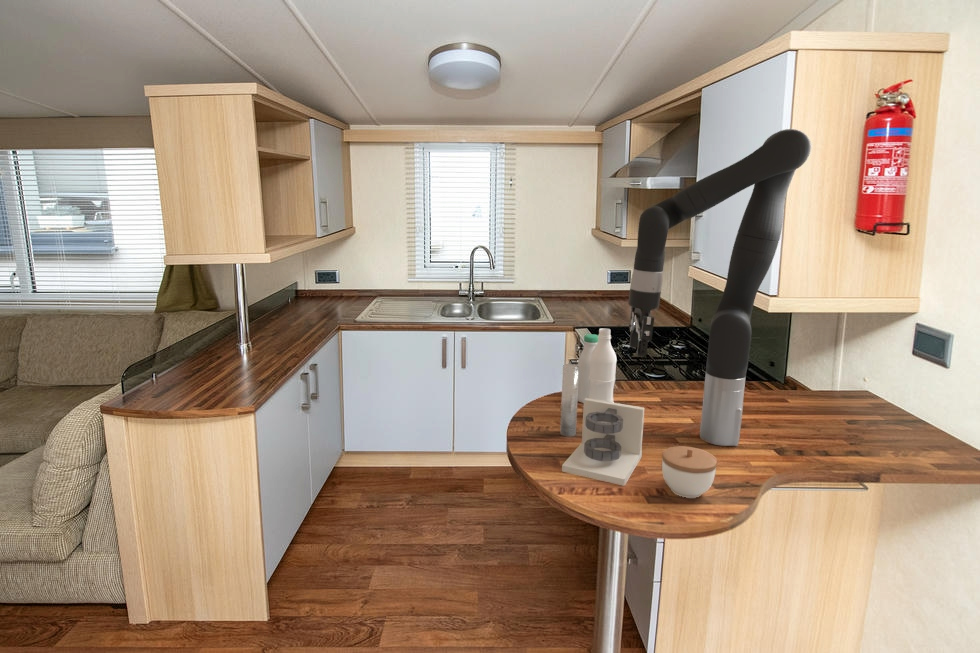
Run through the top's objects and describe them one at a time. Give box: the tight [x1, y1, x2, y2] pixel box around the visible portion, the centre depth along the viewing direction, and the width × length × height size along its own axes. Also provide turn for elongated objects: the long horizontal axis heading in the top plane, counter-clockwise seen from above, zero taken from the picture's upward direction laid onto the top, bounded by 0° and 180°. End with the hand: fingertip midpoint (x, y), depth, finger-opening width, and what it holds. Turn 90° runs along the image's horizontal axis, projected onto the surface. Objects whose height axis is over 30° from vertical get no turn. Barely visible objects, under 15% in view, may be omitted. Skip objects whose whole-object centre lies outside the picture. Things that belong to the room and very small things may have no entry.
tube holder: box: [561, 398, 645, 487], centre depth 133 cm, size 14×16×12 cm
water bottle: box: [589, 327, 618, 403], centre depth 160 cm, size 7×7×25 cm
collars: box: [584, 408, 623, 461], centre depth 133 cm, size 8×11×8 cm
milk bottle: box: [577, 333, 599, 404], centre depth 174 cm, size 8×8×20 cm
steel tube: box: [559, 363, 579, 438], centre depth 149 cm, size 4×4×18 cm
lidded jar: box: [661, 445, 718, 499], centre depth 121 cm, size 11×11×9 cm
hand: (637, 351), depth 149 cm, fingers open, 8 cm apart
